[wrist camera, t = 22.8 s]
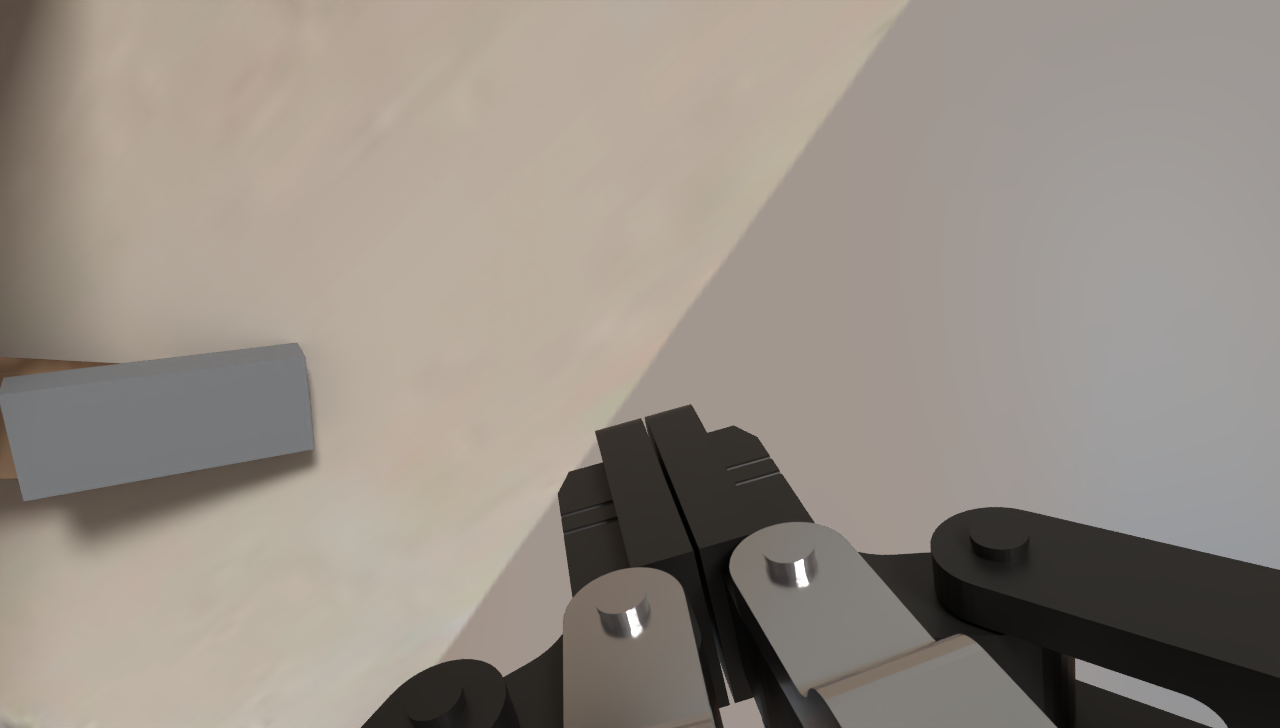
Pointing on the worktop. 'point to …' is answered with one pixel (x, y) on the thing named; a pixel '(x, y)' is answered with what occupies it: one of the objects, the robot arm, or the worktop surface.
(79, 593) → the worktop surface
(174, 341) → the worktop surface
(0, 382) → the domino
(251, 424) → the gray domino
